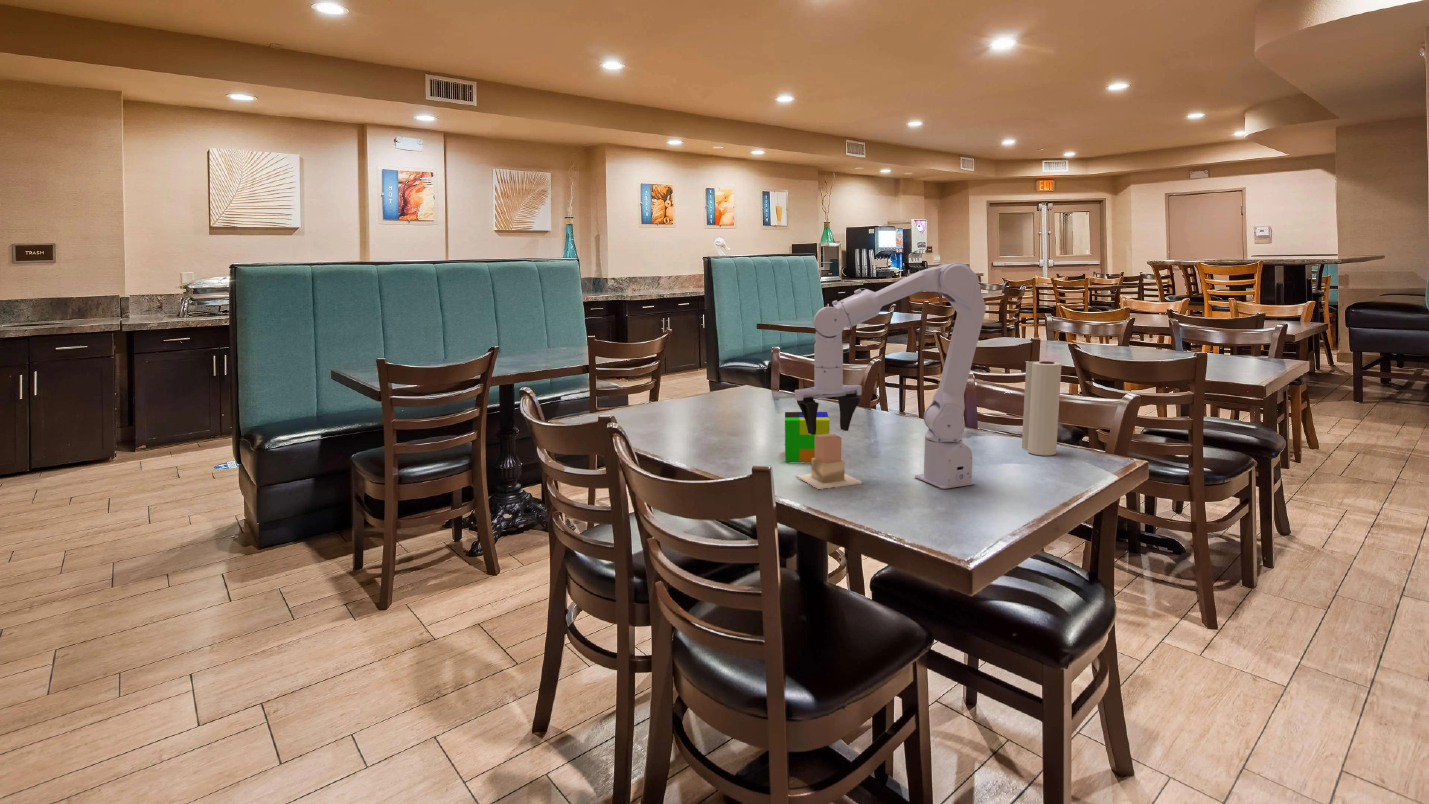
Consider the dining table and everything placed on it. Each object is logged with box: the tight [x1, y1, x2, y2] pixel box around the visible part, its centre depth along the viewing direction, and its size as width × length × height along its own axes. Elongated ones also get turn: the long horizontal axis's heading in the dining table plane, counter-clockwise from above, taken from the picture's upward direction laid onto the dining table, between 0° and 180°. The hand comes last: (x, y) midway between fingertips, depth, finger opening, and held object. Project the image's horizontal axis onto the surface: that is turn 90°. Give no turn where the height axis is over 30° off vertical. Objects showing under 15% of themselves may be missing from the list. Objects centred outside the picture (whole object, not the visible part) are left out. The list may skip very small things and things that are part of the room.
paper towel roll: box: [1021, 360, 1062, 456], centre depth 169 cm, size 7×6×21 cm
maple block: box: [810, 458, 846, 483], centre depth 152 cm, size 5×5×4 cm
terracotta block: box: [815, 432, 842, 463], centre depth 152 cm, size 4×4×5 cm
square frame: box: [795, 473, 863, 490], centre depth 153 cm, size 10×10×1 cm
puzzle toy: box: [784, 411, 830, 463], centre depth 171 cm, size 10×10×10 cm
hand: (828, 431), depth 151 cm, fingers open, 7 cm apart
